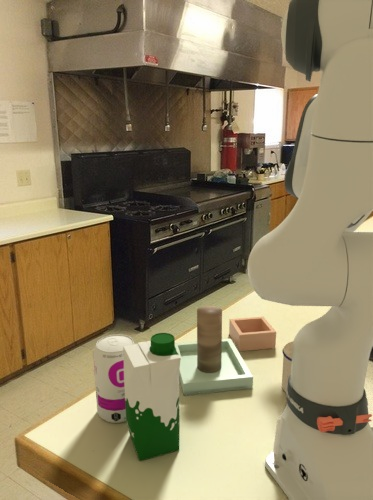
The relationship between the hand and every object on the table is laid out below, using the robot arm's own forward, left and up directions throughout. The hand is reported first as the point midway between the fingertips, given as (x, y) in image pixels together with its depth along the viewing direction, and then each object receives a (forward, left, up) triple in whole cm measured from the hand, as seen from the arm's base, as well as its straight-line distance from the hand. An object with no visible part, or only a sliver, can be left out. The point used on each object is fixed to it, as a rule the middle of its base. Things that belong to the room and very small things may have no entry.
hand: (275, 283), depth 99 cm
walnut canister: (-3, +16, -18) cm, 25 cm away
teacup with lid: (-13, -3, -20) cm, 23 cm away
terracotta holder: (+9, +2, -19) cm, 22 cm away
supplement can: (-15, +37, -20) cm, 44 cm away
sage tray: (-3, +16, -19) cm, 25 cm away
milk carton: (-25, +31, -19) cm, 44 cm away
